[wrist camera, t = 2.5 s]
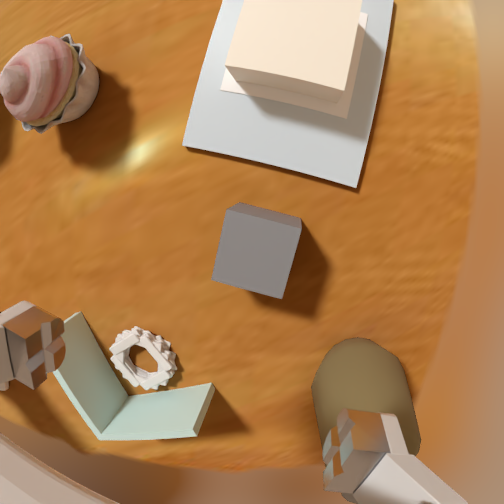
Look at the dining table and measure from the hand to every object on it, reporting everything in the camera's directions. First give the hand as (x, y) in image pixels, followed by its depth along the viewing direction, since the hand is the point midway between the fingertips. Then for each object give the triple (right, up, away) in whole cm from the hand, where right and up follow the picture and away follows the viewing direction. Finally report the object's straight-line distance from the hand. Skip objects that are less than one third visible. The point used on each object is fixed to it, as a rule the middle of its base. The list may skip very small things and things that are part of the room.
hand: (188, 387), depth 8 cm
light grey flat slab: (+5, +19, +14) cm, 24 cm away
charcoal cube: (+2, +4, +18) cm, 19 cm away
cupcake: (-15, +19, +17) cm, 30 cm away
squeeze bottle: (+11, -7, +20) cm, 24 cm away
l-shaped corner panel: (-10, -6, +24) cm, 26 cm away
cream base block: (+5, +20, +14) cm, 24 cm away
